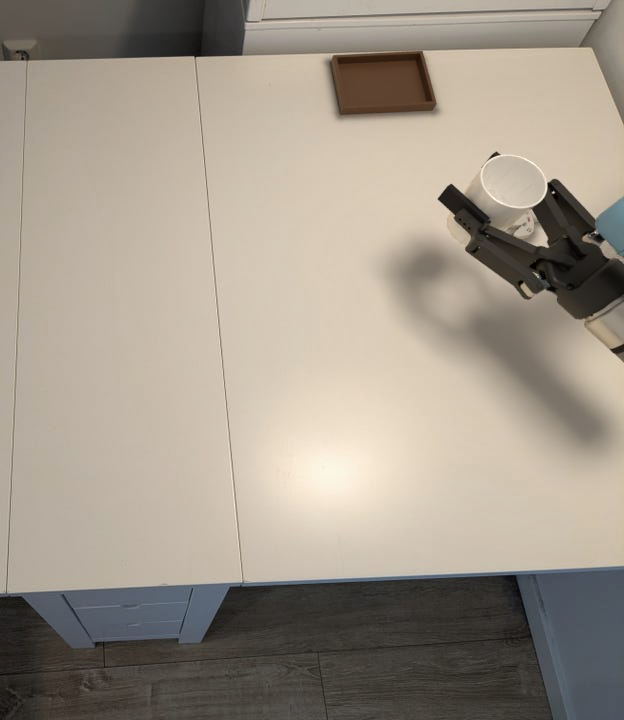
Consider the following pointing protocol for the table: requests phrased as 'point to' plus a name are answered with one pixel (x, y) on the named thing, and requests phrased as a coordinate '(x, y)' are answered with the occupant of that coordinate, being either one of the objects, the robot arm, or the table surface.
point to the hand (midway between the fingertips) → (466, 175)
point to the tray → (382, 83)
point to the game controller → (524, 226)
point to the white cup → (502, 193)
